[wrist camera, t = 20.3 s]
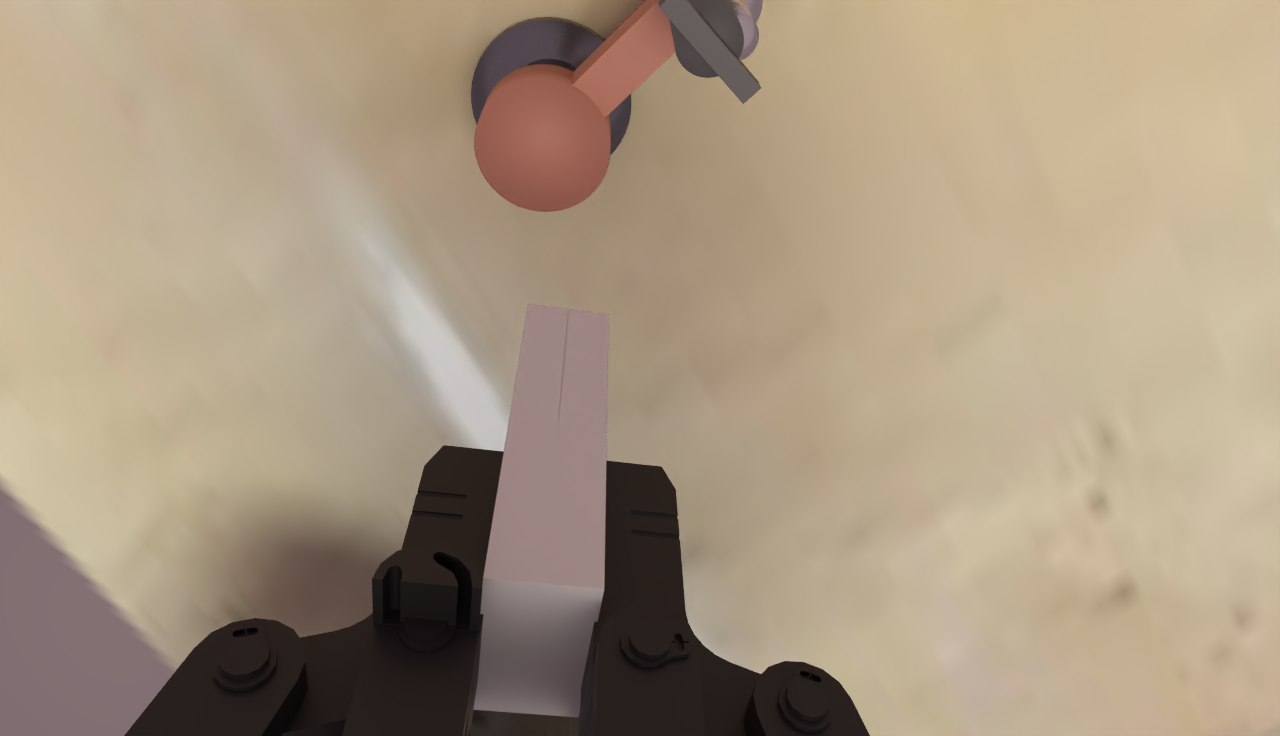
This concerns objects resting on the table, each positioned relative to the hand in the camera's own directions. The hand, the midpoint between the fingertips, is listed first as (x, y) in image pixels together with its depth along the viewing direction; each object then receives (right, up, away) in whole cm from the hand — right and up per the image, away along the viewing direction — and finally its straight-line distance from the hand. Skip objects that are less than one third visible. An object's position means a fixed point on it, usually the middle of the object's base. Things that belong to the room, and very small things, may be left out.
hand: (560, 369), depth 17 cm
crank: (0, +13, +23) cm, 26 cm away
